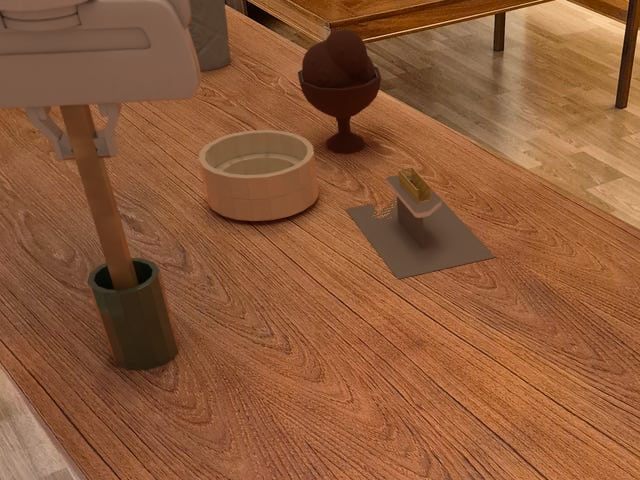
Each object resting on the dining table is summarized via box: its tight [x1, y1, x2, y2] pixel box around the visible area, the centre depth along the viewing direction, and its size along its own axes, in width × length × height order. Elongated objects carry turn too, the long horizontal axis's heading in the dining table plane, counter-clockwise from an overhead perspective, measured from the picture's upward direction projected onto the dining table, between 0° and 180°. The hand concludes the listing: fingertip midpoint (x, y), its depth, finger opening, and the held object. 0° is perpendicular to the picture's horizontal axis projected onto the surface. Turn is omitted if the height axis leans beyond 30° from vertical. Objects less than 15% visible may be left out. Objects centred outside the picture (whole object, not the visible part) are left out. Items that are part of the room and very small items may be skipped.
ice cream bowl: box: [297, 29, 382, 154], centre depth 118 cm, size 11×11×15 cm
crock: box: [86, 257, 180, 371], centre depth 84 cm, size 6×6×9 cm
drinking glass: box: [188, 0, 232, 72], centre depth 142 cm, size 10×10×12 cm
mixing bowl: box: [198, 129, 320, 222], centre depth 109 cm, size 14×14×6 cm
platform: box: [345, 166, 496, 280], centre depth 103 cm, size 12×18×7 cm, turn 25°
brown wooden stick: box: [58, 104, 139, 290], centre depth 78 cm, size 2×3×24 cm, turn 10°
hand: (89, 156), depth 73 cm, fingers closed on brown wooden stick, 2 cm apart
